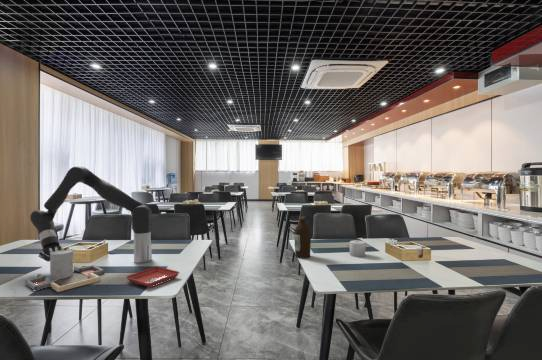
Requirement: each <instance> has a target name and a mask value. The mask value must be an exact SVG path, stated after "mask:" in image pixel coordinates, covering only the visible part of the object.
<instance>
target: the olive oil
mask: <svg viewBox="0 0 542 360" xmlns="http://www.w3.org/2000/svg"><path fill="white" fill-rule="evenodd" d="M293 236H294V238H293V240H294V256H295V257H296V258H297V259H309V258H311V241H312V240H311V239H312V230H311V228H310V227H309V226H308V224H307V223H306V217H305V216H300V217H299V223H298V224H297V226H296V227H295V228H294V230H293Z"/></svg>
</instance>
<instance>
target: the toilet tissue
mask: <svg viewBox="0 0 542 360" xmlns="http://www.w3.org/2000/svg"><path fill="white" fill-rule="evenodd" d="M346 246H347V247H348V249H349V256H351V257H354V258H365V256H366V241H364V240H357V239H356V240H355V239H354V240H350V241H349V244H347V245H346Z"/></svg>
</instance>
